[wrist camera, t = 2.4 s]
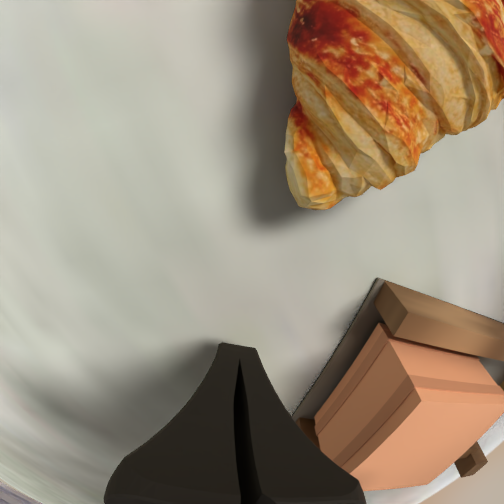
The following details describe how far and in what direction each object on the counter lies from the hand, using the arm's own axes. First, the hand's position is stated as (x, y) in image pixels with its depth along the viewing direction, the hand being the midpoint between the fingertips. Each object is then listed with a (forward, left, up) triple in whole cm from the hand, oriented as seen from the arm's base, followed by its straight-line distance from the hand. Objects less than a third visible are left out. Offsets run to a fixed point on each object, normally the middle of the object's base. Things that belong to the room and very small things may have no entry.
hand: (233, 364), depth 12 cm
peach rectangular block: (-8, 0, -1) cm, 8 cm away
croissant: (-1, -17, -2) cm, 17 cm away
